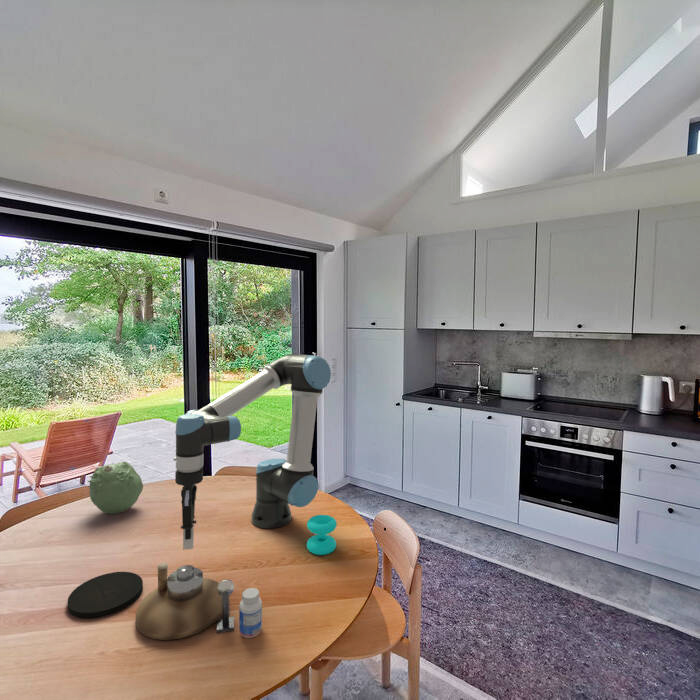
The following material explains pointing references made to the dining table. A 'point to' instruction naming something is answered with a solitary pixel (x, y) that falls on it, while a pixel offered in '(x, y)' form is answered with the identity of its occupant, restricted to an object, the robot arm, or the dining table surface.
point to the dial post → (225, 606)
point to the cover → (185, 583)
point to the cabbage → (115, 487)
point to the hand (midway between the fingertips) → (188, 547)
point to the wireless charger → (105, 595)
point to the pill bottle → (250, 613)
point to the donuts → (321, 534)
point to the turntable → (177, 610)
